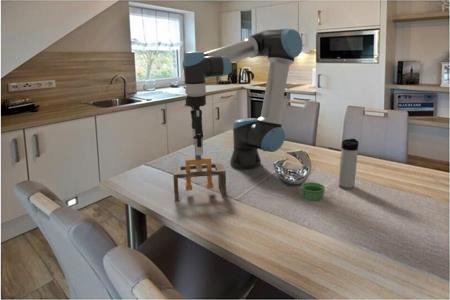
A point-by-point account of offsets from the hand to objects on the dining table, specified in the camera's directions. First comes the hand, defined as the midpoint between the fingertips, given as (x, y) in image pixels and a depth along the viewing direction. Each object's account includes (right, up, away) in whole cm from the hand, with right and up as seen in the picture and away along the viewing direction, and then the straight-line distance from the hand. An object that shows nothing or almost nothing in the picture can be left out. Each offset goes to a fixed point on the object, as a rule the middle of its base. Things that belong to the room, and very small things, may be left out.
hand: (197, 149), depth 136 cm
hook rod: (0, -7, +2) cm, 8 cm away
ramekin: (+45, -19, +1) cm, 49 cm away
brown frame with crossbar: (0, -18, +5) cm, 19 cm away
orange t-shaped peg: (0, -15, +5) cm, 16 cm away
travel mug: (+61, -16, +10) cm, 64 cm away
